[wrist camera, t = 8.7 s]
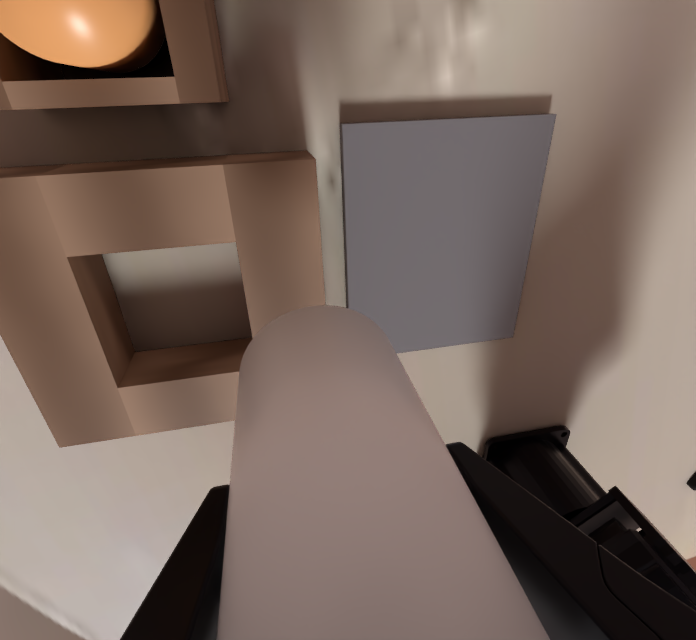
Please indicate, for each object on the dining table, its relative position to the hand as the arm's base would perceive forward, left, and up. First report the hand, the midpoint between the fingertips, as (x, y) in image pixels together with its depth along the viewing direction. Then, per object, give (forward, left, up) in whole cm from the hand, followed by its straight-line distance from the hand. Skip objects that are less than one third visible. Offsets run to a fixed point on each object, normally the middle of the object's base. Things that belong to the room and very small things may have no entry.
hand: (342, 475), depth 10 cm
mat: (-7, -1, -13) cm, 15 cm away
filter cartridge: (0, 0, -4) cm, 4 cm away
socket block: (+6, -4, -13) cm, 14 cm away
